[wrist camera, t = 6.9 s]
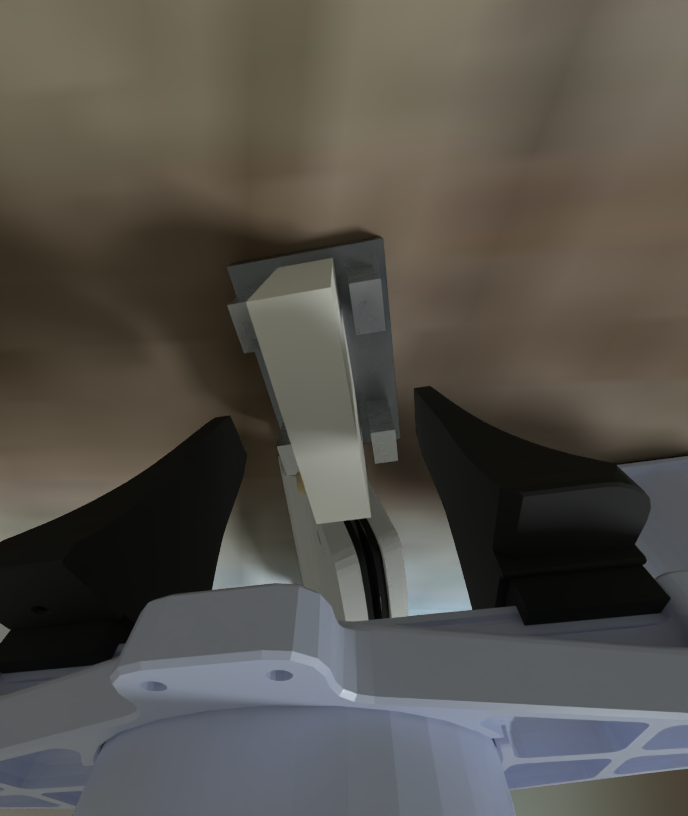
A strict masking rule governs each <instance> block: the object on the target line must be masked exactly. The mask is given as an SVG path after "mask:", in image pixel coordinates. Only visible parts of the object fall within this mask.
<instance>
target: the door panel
mask: <svg viewBox="0 0 688 816" xmlns="http://www.w3.org/2000/svg"><path fill="white" fill-rule="evenodd" d="M246 304H247V308H248V311H249V314H250V317H251V320H252V323H253V326H254V330H255V333H256V336H257V339H258V342H259V345H260V348H261V352H262V355H263V358H264V361H265V364H266V367H267V370H268V374H269V377H270V380H271V383H272V386H273V389H274V392H275V396H276V399H277V402H278V405H279V408H280V411H281V414H282V418H283V421H284V424H285V427H286V430H287V433H288V436H289V439H290V443H291V446H292V449H293V452H294V455H295V458H296V461H297V465H298V468H299V471H300V472H297V475H296V484H297V489H298V492H299V494H305V493H307V496H308V499H309V502H310V505H311V509H312V512H313V515H314V518H315V521H316V524H322V523H330V522H338V521H346V520H354V519H363V518H371V511H370V502H369V493H368V484H367V475H366V466H365V457H364V447H363V438H362V432H361V425H360V419H359V413H358V407H357V401H356V395H355V389H354V383H353V377H352V371H351V365H350V359H349V353H348V347H347V341H346V335H345V328H344V322H343V316H342V310H341V304H340V298H339V292H338V286H337V280H336V274H335V268H334V262H333V258H329V259H323V260H318V261H312V262H307V263H301V264H296V265H290V266H285V267H279V268H277V269H276V270H275V271H274V272H273V273H272V274H271V276H270V277H269V278H268V279H267V280H266V281H265V282H264V283H263V284H262V285H261V286H260V287H259V288H258V290H257V291H256V292H255V293H254V294H253V295H252V296H251V297H250V298H249V299H248V300H247V301H246Z"/></svg>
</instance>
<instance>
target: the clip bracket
mask: <svg viewBox="0 0 688 816" xmlns="http://www.w3.org/2000/svg"><path fill="white" fill-rule="evenodd" d="M329 258H333V262H334V268H335V274H336V280H337V286H338V292H339V298H340V304H341V310H342V316H343V322H344V328H345V335H346V341H347V347H348V353H349V359H350V365H351V371H352V377H353V383H354V389H355V395H356V401H357V407H358V413H359V419H360V425H361V432H362V438H363V444H366V443H372V447H373V453H374V460H375V464H377V463H385V462H392V461H398V454H397V443H396V439H400V428H399V417H398V405H397V393H396V382H395V370H394V358H393V347H392V335H391V324H390V312H389V300H388V289H387V277H386V266H385V254H384V242H383V238H382V237H381V236H380V237H374V238H369V239H363V240H358V241H353V242H347V243H342V244H336V245H331V246H325V247H320V248H314V249H309V250H303V251H298V252H292V253H287V254H281V255H276V256H271V257H265V258H260V259H254V260H249V261H243V262H238V263H233V264H231V265H229V266H227V270H228V273H229V276H230V279H231V282H232V285H233V288H234V291H235V294H236V297H235V298H234V299H233V300H232V301H231V302H230V303H229V304H228V305H227V307H228V310H229V312H230V315H231V318H232V321H233V324H234V327H235V329H236V332H237V335H238V338H239V341H240V344H241V347H242V349H243V352H244V353H250V352H255V354H256V357H257V360H258V363H259V367H260V370H261V373H262V376H263V379H264V382H265V385H266V388H267V391H268V394H269V397H270V400H271V403H272V406H273V409H274V412H275V415H276V418H277V421H278V424H279V427H280V430H281V431H280V435H279V439H278V443H277V449H278V452H279V455H280V458H281V461H282V463H283V466H284V469H285V472H286V475H287V476H288V475H295V474H297V472H300V471H299V468H298V465H297V461H296V458H295V455H294V452H293V449H292V446H291V443H290V439H289V436H288V433H287V430H286V427H285V424H284V421H283V418H282V414H281V411H280V408H279V405H278V402H277V399H276V396H275V392H274V389H273V386H272V383H271V380H270V377H269V374H268V370H267V367H266V364H265V361H264V358H263V355H262V352H261V348H260V345H259V342H258V339H257V336H256V333H255V330H254V326H253V323H252V320H251V317H250V314H249V311H248V308H247V304H246V301H247V300H248V299H249V298H250V297H251V296H252V295H253V294H254V293H255V292H256V291H257V290H258V288H259V287H260V286H261V285H262V284H263V283H264V282H265V281H266V280H267V279H268V278H269V277H270V276H271V274H272V273H273V272H274V271H275V270H276V269H277V268H279V267H285V266H290V265H296V264H301V263H307V262H312V261H318V260H323V259H329Z"/></svg>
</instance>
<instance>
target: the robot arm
mask: <svg viewBox="0 0 688 816" xmlns="http://www.w3.org/2000/svg"><path fill="white" fill-rule="evenodd" d="M414 401H415V420H416V433H417V437H418V441H419V445H420V448H421V452H422V455H423V457H424V460H425V462H426V465H427V467H428V470H429V472H430V474H431V477H432V479H433V482H434V484H435V486H436V489H437V491H438V494H439V496H440V498H441V501H442V504H443V506H444V509H445V512H446V515H447V519H448V522H449V526H450V529H451V532H452V536H453V539H454V543H455V546H456V550H457V553H458V557H459V561H460V564H461V568H462V572H463V575H464V579H465V583H466V587H467V590H468V594H469V598H470V602H471V606H472V610H468V611H458V612H448V613H437V614H427V615H416V616H406V617H396V618H385V619H375V620H365V621H354V622H353V621H340V620H336V618H335V615H334V612H333V609H332V607H331V605H330V604H329V603H328V602H327V601H326V600H325V599H324V598H323V597H322V596H321V594H319V593H318V592H317V591H315V590H312V589H309V588H307V587H304V586H301V585H299V584H278V583H274V584H264V585H255V586H246V587H236V588H227V589H218V590H212V586H213V581H214V576H215V571H216V566H217V561H218V556H219V552H220V547H221V543H222V539H223V535H224V532H225V528H226V525H227V522H228V519H229V516H230V514H231V511H232V508H233V505H234V502H235V499H236V496H237V494H238V491H239V488H240V485H241V482H242V478H243V474H244V469H245V464H246V457H247V454H246V452H245V450H244V447H243V445H242V442H241V440H240V438H239V435H238V433H237V431H236V428H235V426H234V423H233V421H232V419H231V416H223V417H216V418H214V419H212V420H211V421H209V422H208V423H207V424H205V425H204V426H203V427H201V428H200V429H199V430H198V431H196V432H195V433H194V434H193V435H191V436H190V437H189V438H188V439H186V440H185V441H184V442H182V443H181V444H180V445H179V446H177V447H176V448H175V449H174V450H172V451H171V452H170V453H168V454H167V455H166V456H164V457H163V458H161V459H160V460H159V461H157V462H156V463H155V464H153V465H152V466H151V467H149V468H148V469H146V470H145V471H143V472H142V473H140V474H139V475H137V476H135V477H134V478H132V479H131V480H129V481H128V482H126V483H124V484H123V485H121V486H119V487H117V488H115V489H114V490H112V491H110V492H108V493H106V494H105V495H103V496H101V497H99V498H97V499H96V500H94V501H92V502H90V503H88V504H86V505H84V506H82V507H80V508H78V509H76V510H74V511H72V512H69V513H67V514H65V515H63V516H61V517H59V518H56V519H54V520H52V521H50V522H47V523H45V524H43V525H40V526H38V527H35V528H33V529H30V530H28V531H25V532H23V533H21V534H18V535H16V536H13V537H11V538H8V539H5V540H3V541H1V542H0V623H1V624H2V625H4V626H5V627H7V628H8V629H11V630H10V632H9V633H8V634H7V635H6V637H5V638H4V639H3V641H2V642H1V643H0V808H1V809H11V808H12V809H13V808H14V809H24V808H25V809H75V810H74V813H73V814H72V816H516V812H515V809H514V806H513V802H512V799H511V795H510V792H509V791H510V790H517V789H525V788H533V787H541V786H548V785H557V784H565V783H572V782H581V781H589V780H597V779H605V778H613V777H621V776H628V775H636V774H644V773H653V772H661V771H670V770H679V769H687V768H688V456H684V457H676V458H668V459H660V460H652V461H644V462H637V463H629V464H621V465H615V464H613V463H609V462H604V461H599V460H595V459H590V458H585V457H581V456H576V455H572V454H568V453H565V452H561V451H557V450H554V449H550V448H547V447H544V446H541V445H538V444H535V443H532V442H529V441H526V440H524V439H521V438H518V437H516V436H513V435H511V434H508V433H506V432H504V431H502V430H500V429H498V428H495V427H493V426H491V425H489V424H487V423H485V422H483V421H482V420H480V419H478V418H476V417H475V416H473V415H471V414H470V413H468V412H466V411H465V410H463V409H462V408H460V407H459V406H457V405H456V404H454V403H453V402H451V401H450V400H449V399H447V398H446V397H444V396H443V395H442V394H440V393H439V392H438V391H436V390H435V389H434V388H432V387H431V386H427V387H420V388H414Z"/></svg>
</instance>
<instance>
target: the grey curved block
mask: <svg viewBox="0 0 688 816" xmlns="http://www.w3.org/2000/svg"><path fill="white" fill-rule="evenodd" d="M278 460H279V465H280V470H281V476H282V481H283V486H284V491H285V496H286V501H287V506H288V511H289V516H290V521H291V526H292V531H293V536H294V541H295V546H296V551H297V556H298V561H299V566H300V571H301V576H302V581H303V586H304V587H307V588H309V589H312V590H315V591H317V592H318V593H319V594H321V596H322V597H323V598H324V599H325V600H326V601H327V602H328V603H329V604H330V605H331V607H332V609H333V612H334V615H335V618H336V620H340V621H353V622H354V621H365V620H375V619H385V618H396V617H406V616H408V596H407V583H406V575H405V567H404V560H403V553H402V546H401V543H400V539H399V537H398V534H397V532H396V530H395V528H394V526H393V524H392V523H391V521H390V519H389V517H388V515H387V513H386V512H385V510H384V508H383V506H382V504H381V502H380V501H379V499H378V497H377V495H376V493H375V491H374V490H373V488H372V486H371V484H370V482H369V480H368V479H367V484H368V493H369V502H370V511H371V518H363V519H354V520H346V521H338V522H330V523H322V524H316V521H315V518H314V515H313V512H312V509H311V505H310V502H309V499H308V496H307V493H305V494H299V492H298V489H297V484H296V475H297V474H295V475H288V476H287V475H286V472H285V469H284V466H283V463H282V461H281V458H280V456H278Z"/></svg>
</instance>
